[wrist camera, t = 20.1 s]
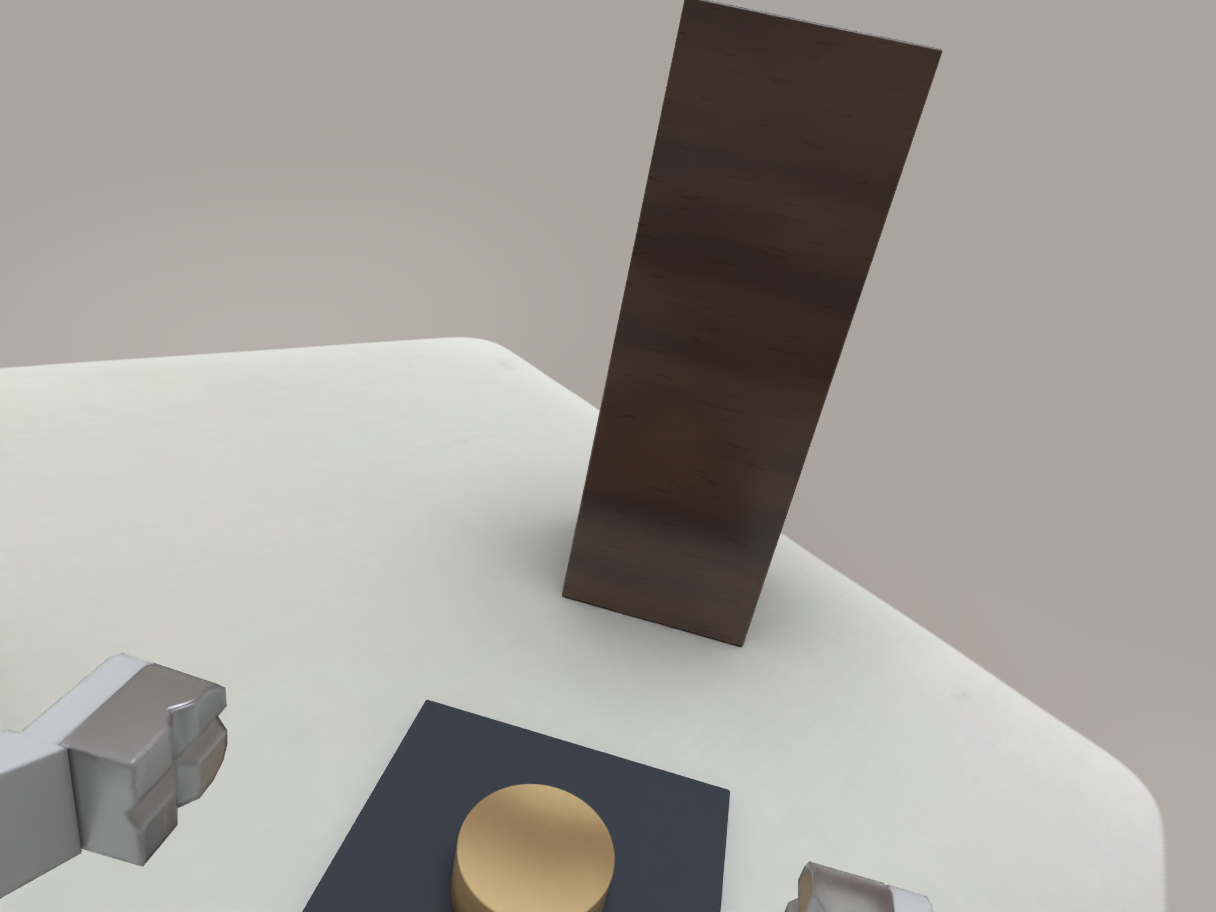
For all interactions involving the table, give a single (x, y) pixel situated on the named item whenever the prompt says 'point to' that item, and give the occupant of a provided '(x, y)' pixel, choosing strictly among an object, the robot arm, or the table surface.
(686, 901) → the mat
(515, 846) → the spoon
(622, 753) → the table surface
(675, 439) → the stand
